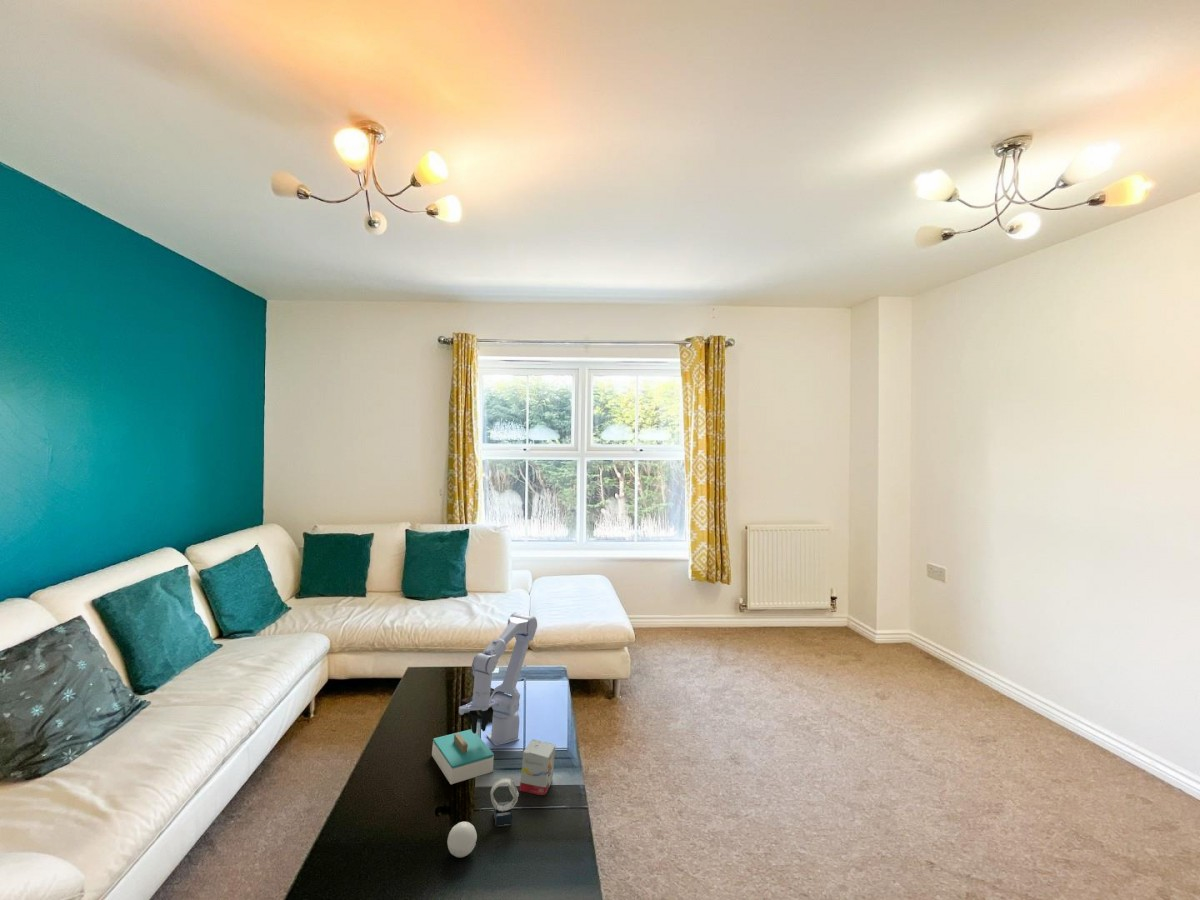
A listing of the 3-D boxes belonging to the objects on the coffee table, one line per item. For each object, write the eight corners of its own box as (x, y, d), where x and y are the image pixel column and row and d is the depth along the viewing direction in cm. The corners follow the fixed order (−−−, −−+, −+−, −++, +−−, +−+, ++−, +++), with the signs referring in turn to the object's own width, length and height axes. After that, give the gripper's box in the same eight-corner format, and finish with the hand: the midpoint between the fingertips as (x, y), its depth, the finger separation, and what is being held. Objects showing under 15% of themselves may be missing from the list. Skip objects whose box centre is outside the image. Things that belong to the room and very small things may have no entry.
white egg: (475, 863, 129) (478, 833, 129) (444, 866, 127) (447, 835, 127) (476, 835, 138) (479, 807, 139) (448, 836, 137) (450, 808, 137)
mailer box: (471, 744, 181) (472, 731, 182) (492, 771, 167) (493, 756, 167) (431, 755, 173) (433, 741, 173) (450, 784, 159) (452, 769, 159)
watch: (518, 824, 144) (521, 784, 144) (489, 828, 141) (492, 788, 141) (515, 811, 149) (518, 772, 149) (487, 815, 146) (490, 775, 147)
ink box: (545, 796, 157) (548, 757, 157) (518, 790, 158) (522, 751, 159) (553, 780, 165) (556, 742, 165) (528, 774, 167) (531, 738, 167)
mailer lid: (472, 730, 182) (473, 721, 182) (493, 756, 167) (494, 746, 167) (433, 740, 173) (433, 731, 173) (452, 768, 159) (453, 757, 159)
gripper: (465, 699, 166) (462, 742, 166) (506, 690, 175) (503, 731, 174) (457, 690, 172) (454, 731, 171) (497, 682, 180) (494, 722, 180)
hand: (478, 731), depth 173 cm, fingers open, 3 cm apart
